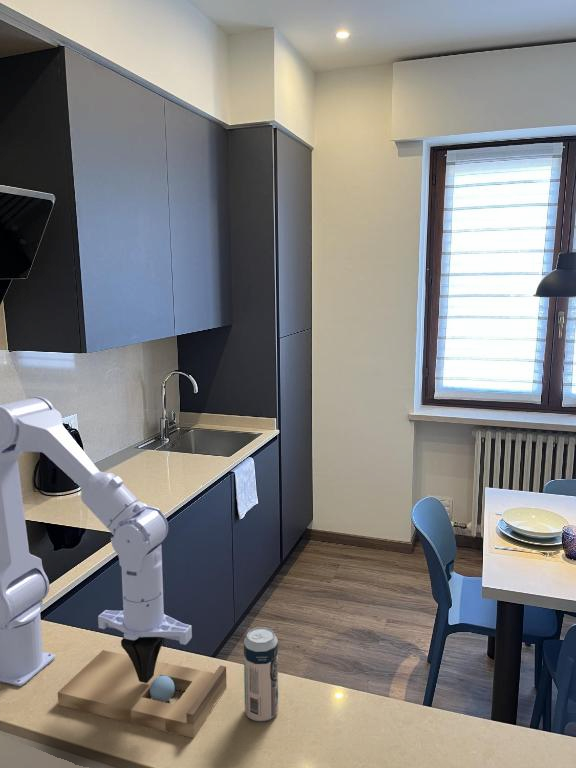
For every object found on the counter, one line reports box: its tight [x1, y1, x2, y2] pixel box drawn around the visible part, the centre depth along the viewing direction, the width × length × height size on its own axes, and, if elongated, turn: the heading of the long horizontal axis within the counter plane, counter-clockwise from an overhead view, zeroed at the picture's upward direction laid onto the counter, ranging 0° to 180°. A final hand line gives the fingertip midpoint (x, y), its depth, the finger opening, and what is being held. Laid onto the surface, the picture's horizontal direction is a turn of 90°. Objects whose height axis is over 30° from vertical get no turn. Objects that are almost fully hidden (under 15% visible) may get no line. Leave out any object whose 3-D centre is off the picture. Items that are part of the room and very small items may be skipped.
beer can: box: [243, 626, 279, 722], centre depth 83 cm, size 5×5×12 cm
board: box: [57, 649, 228, 739], centre depth 87 cm, size 22×11×4 cm, turn 72°
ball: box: [150, 676, 176, 703], centre depth 87 cm, size 4×4×4 cm
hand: (146, 678), depth 87 cm, fingers closed
